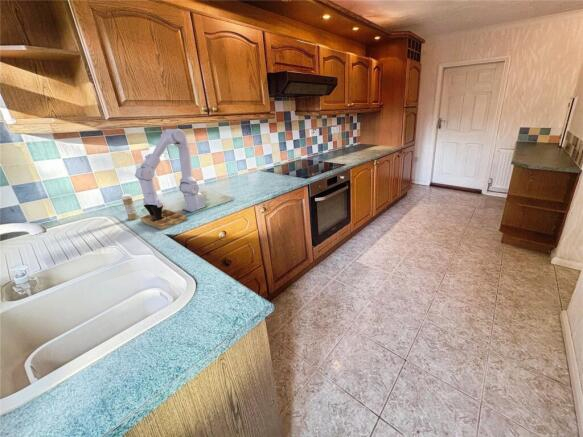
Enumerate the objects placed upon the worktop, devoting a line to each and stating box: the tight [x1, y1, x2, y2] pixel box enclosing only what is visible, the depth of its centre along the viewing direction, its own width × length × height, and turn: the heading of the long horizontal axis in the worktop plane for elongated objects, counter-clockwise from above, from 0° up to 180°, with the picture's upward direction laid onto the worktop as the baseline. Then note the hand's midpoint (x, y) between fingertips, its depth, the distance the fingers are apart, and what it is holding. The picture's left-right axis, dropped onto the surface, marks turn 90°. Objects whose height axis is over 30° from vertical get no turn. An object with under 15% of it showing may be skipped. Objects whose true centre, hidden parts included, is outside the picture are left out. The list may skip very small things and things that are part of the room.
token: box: [151, 213, 162, 222], centre depth 131 cm, size 4×4×4 cm
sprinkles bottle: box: [120, 193, 139, 221], centre depth 137 cm, size 5×5×14 cm
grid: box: [140, 208, 188, 231], centre depth 134 cm, size 14×20×2 cm
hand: (156, 217), depth 131 cm, fingers closed on token, 4 cm apart
